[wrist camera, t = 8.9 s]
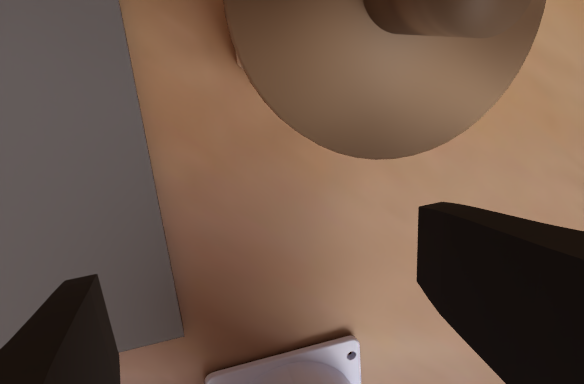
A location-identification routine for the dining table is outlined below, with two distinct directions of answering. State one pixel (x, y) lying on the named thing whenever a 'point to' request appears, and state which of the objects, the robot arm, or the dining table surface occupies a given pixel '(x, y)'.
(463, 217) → the robot arm
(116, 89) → the mat
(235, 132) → the dining table surface
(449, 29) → the lid
